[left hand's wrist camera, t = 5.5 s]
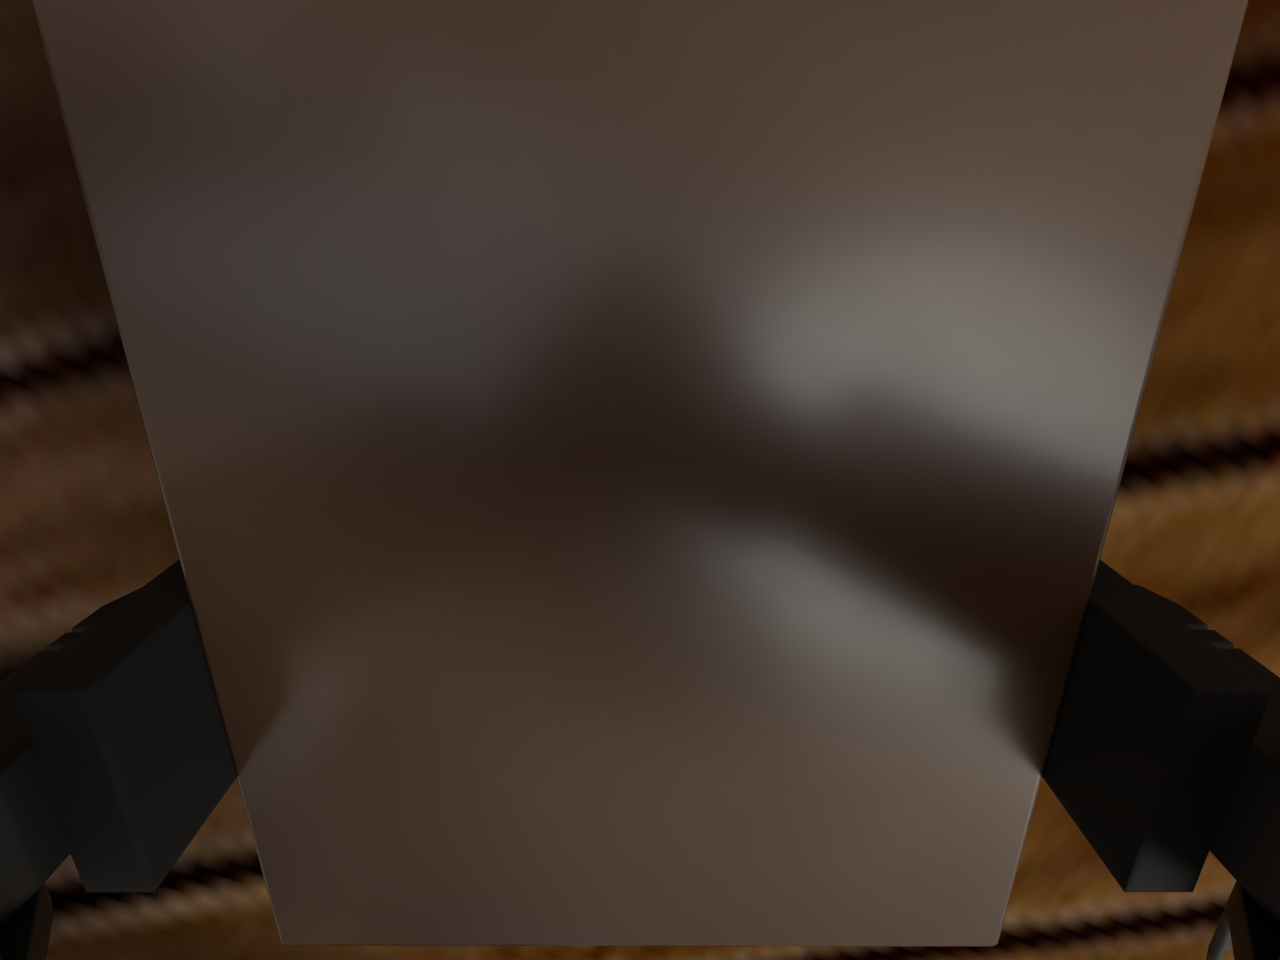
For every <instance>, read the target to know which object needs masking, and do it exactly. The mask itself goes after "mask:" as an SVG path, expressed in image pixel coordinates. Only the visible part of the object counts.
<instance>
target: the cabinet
mask: <svg viewBox="0 0 1280 960" xmlns="http://www.w3.org/2000/svg"><path fill="white" fill-rule="evenodd" d="M32 4H33V8H34V12H35V16H36V19H37V23H38V27H39V31H40V34H41V38H42V42H43V46H44V49H45V53H46V57H47V61H48V65H49V68H50V72H51V76H52V80H53V83H54V87H55V91H56V95H57V99H58V102H59V106H60V110H61V114H62V117H63V121H64V125H65V129H66V133H67V136H68V140H69V144H70V148H71V151H72V155H73V159H74V163H75V167H76V170H77V174H78V178H79V182H80V185H81V189H82V193H83V197H84V201H85V204H86V208H87V212H88V216H89V219H90V223H91V227H92V231H93V235H94V238H95V242H96V246H97V250H98V253H99V257H100V261H101V265H102V269H103V272H104V276H105V280H106V284H107V287H108V291H109V295H110V299H111V302H112V306H113V310H114V314H115V318H116V321H117V325H118V329H119V333H120V336H121V340H122V344H123V348H124V352H125V355H126V359H127V363H128V367H129V370H130V374H131V378H132V382H133V386H134V389H135V393H136V397H137V401H138V404H139V408H140V412H141V416H142V420H143V423H144V427H145V431H146V435H147V438H148V442H149V446H150V450H151V454H152V457H153V461H154V465H155V469H156V472H157V476H158V480H159V484H160V488H161V491H162V495H163V499H164V503H165V506H166V510H167V514H168V518H169V522H170V525H171V529H172V533H173V537H174V540H175V544H176V548H177V552H178V555H179V559H180V563H181V567H182V571H183V574H184V578H185V582H186V586H187V589H188V593H189V597H190V601H191V605H192V608H193V612H194V616H195V620H196V623H197V627H198V631H199V635H200V639H201V642H202V646H203V650H204V654H205V657H206V661H207V665H208V669H209V673H210V676H211V680H212V684H213V688H214V691H215V695H216V699H217V703H218V707H219V710H220V714H221V718H222V722H223V725H224V729H225V733H226V737H227V741H228V744H229V748H230V752H231V756H232V759H233V763H234V767H235V771H236V775H237V778H238V782H239V786H240V790H241V793H242V797H243V801H244V805H245V808H246V812H247V816H248V820H249V824H250V827H251V831H252V835H253V839H254V842H255V846H256V850H257V854H258V858H259V861H260V865H261V869H262V873H263V876H264V880H265V884H266V888H267V892H268V895H269V899H270V903H271V907H272V910H273V914H274V918H275V922H276V926H277V929H278V933H279V937H280V941H281V943H282V944H284V945H417V946H995V945H996V944H997V943H998V940H999V937H1000V933H1001V929H1002V925H1003V921H1004V918H1005V914H1006V910H1007V906H1008V903H1009V899H1010V895H1011V891H1012V888H1013V884H1014V880H1015V876H1016V873H1017V869H1018V865H1019V861H1020V858H1021V854H1022V850H1023V846H1024V843H1025V839H1026V835H1027V831H1028V827H1029V824H1030V820H1031V816H1032V812H1033V809H1034V805H1035V801H1036V797H1037V794H1038V790H1039V786H1040V782H1041V779H1042V775H1043V771H1044V767H1045V764H1046V760H1047V756H1048V752H1049V748H1050V745H1051V741H1052V737H1053V733H1054V730H1055V726H1056V722H1057V718H1058V715H1059V711H1060V707H1061V703H1062V700H1063V696H1064V692H1065V688H1066V685H1067V681H1068V677H1069V673H1070V670H1071V666H1072V662H1073V658H1074V654H1075V651H1076V647H1077V643H1078V639H1079V636H1080V632H1081V628H1082V624H1083V621H1084V617H1085V613H1086V609H1087V606H1088V602H1089V598H1090V594H1091V591H1092V587H1093V583H1094V579H1095V575H1096V572H1097V568H1098V564H1099V560H1100V557H1101V553H1102V549H1103V545H1104V542H1105V538H1106V534H1107V530H1108V527H1109V523H1110V519H1111V515H1112V512H1113V508H1114V504H1115V500H1116V497H1117V493H1118V489H1119V485H1120V481H1121V478H1122V474H1123V470H1124V466H1125V463H1126V459H1127V455H1128V451H1129V448H1130V444H1131V440H1132V436H1133V433H1134V429H1135V425H1136V421H1137V418H1138V414H1139V410H1140V406H1141V402H1142V399H1143V395H1144V391H1145V387H1146V384H1147V380H1148V376H1149V372H1150V369H1151V365H1152V361H1153V357H1154V354H1155V350H1156V346H1157V342H1158V339H1159V335H1160V331H1161V327H1162V324H1163V320H1164V316H1165V312H1166V308H1167V305H1168V301H1169V297H1170V293H1171V290H1172V286H1173V282H1174V278H1175V275H1176V271H1177V267H1178V263H1179V260H1180V256H1181V252H1182V248H1183V245H1184V241H1185V237H1186V233H1187V229H1188V226H1189V222H1190V218H1191V214H1192V211H1193V207H1194V203H1195V199H1196V196H1197V192H1198V188H1199V184H1200V181H1201V177H1202V173H1203V169H1204V166H1205V162H1206V158H1207V154H1208V151H1209V147H1210V143H1211V139H1212V135H1213V132H1214V128H1215V124H1216V120H1217V117H1218V113H1219V109H1220V105H1221V102H1222V98H1223V94H1224V90H1225V87H1226V83H1227V79H1228V75H1229V72H1230V68H1231V64H1232V60H1233V56H1234V53H1235V49H1236V45H1237V41H1238V38H1239V34H1240V30H1241V26H1242V23H1243V19H1244V15H1245V11H1246V8H1247V4H1248V0H32Z"/></svg>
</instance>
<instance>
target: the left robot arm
mask: <svg viewBox="0 0 1280 960" xmlns="http://www.w3.org/2000/svg"><path fill="white" fill-rule="evenodd" d="M236 777H237V775H236V771H235V767H234V763H233V759H232V756H231V752H230V748H229V744H228V741H227V737H226V733H225V729H224V725H223V722H222V718H221V714H220V710H219V707H218V703H217V699H216V695H215V691H214V688H213V684H212V680H211V676H210V673H209V669H208V665H207V661H206V657H205V654H204V650H203V646H202V642H201V639H200V635H199V631H198V627H197V623H196V620H195V616H194V612H193V608H192V605H191V601H190V597H189V593H188V589H187V586H186V582H185V578H184V574H183V571H182V567H181V563H180V559H179V560H178V561H177V562H175V563H174V564H173V565H172V566H170V567H169V568H168V569H166V570H165V571H164V572H162V573H161V574H160V575H158V576H157V577H156V578H154V579H153V580H152V581H150V582H149V583H148V584H146V585H145V586H144V587H142V588H140V589H138V590H136V591H134V592H132V593H129V594H127V595H125V596H123V597H121V598H119V599H117V600H115V601H112V602H110V603H108V604H106V605H104V606H102V607H101V608H99V609H98V610H97V611H95V612H94V613H92V614H91V615H90V616H88V617H87V618H86V619H84V620H83V621H81V622H80V623H79V624H77V625H76V626H75V627H73V628H72V632H71V633H65V634H64V635H62V636H61V637H60V638H58V639H57V640H56V641H54V642H53V643H51V644H50V645H49V646H47V650H46V652H39V653H38V654H36V655H35V656H34V657H32V658H31V659H30V660H28V661H27V662H25V663H24V664H23V665H21V666H20V667H19V668H17V669H16V670H15V671H13V672H12V673H10V674H9V675H8V676H6V677H5V678H4V679H2V680H1V681H0V960H46V956H47V950H48V943H49V937H50V931H51V925H52V919H53V908H52V902H51V897H50V895H49V893H48V890H47V888H46V886H45V883H44V882H45V881H46V880H47V879H48V878H49V877H50V876H51V875H52V873H53V872H54V871H55V870H56V869H57V868H58V867H59V866H60V864H61V863H62V862H63V861H64V860H65V859H66V858H67V857H68V855H69V854H70V853H71V855H72V858H73V860H74V863H75V865H76V868H77V870H78V873H79V875H80V878H81V880H82V883H83V885H84V888H85V890H86V892H155V891H156V889H157V888H158V886H159V885H160V884H161V882H162V881H163V879H164V878H165V877H166V875H167V874H168V872H169V871H170V870H171V868H172V867H173V865H174V864H175V863H176V861H177V860H178V858H179V857H180V856H181V854H182V853H183V851H184V850H185V849H186V847H187V846H188V844H189V843H190V842H191V840H192V839H193V837H194V836H195V835H196V833H197V832H198V830H199V829H200V828H201V826H202V825H203V823H204V822H205V821H206V819H207V818H208V816H209V815H210V814H211V812H212V811H213V809H214V808H215V807H216V805H217V804H218V802H219V801H220V800H221V798H222V797H223V795H224V794H225V793H226V791H227V790H228V788H229V787H230V786H231V784H232V783H233V781H234V780H235V779H236ZM1042 777H1043V778H1044V780H1045V781H1046V783H1047V784H1048V785H1049V787H1050V788H1051V790H1052V791H1053V792H1054V794H1055V795H1056V797H1057V798H1058V799H1059V801H1060V802H1061V804H1062V805H1063V806H1064V808H1065V809H1066V811H1067V812H1068V813H1069V815H1070V816H1071V818H1072V819H1073V820H1074V822H1075V823H1076V825H1077V826H1078V827H1079V829H1080V830H1081V832H1082V833H1083V834H1084V836H1085V837H1086V839H1087V840H1088V841H1089V843H1090V844H1091V846H1092V847H1093V848H1094V850H1095V851H1096V853H1097V854H1098V855H1099V857H1100V858H1101V860H1102V861H1103V862H1104V864H1105V865H1106V867H1107V868H1108V869H1109V871H1110V872H1111V874H1112V875H1113V876H1114V878H1115V879H1116V881H1117V882H1118V883H1119V885H1120V886H1121V888H1122V889H1123V890H1124V892H1193V890H1194V888H1195V885H1196V883H1197V880H1198V877H1199V875H1200V872H1201V870H1202V867H1203V865H1204V862H1205V860H1206V857H1207V855H1208V852H1209V850H1210V851H1211V852H1212V853H1213V855H1214V856H1215V857H1216V858H1217V859H1218V860H1219V861H1220V862H1221V863H1222V865H1223V866H1224V867H1225V868H1226V869H1227V870H1228V871H1229V872H1230V874H1231V875H1232V876H1233V877H1234V878H1235V879H1236V880H1237V881H1236V883H1235V886H1234V888H1233V890H1232V893H1231V895H1230V897H1229V900H1228V902H1227V904H1226V907H1225V909H1224V911H1223V914H1222V916H1221V918H1220V921H1219V923H1218V925H1217V928H1216V930H1215V933H1214V935H1213V937H1212V940H1211V942H1210V944H1209V948H1208V953H1207V958H1206V960H1222V958H1223V956H1224V953H1225V951H1226V950H1229V949H1231V948H1233V953H1234V959H1235V960H1280V678H1279V677H1278V676H1277V675H1275V674H1274V673H1272V672H1271V671H1270V670H1268V669H1267V668H1266V667H1264V666H1263V665H1261V664H1260V663H1259V662H1257V661H1256V660H1255V659H1253V658H1252V657H1250V656H1249V655H1248V654H1246V653H1245V652H1244V651H1242V650H1241V649H1234V648H1233V643H1231V642H1230V641H1228V640H1227V639H1226V638H1224V637H1223V636H1222V635H1220V634H1219V633H1217V632H1216V631H1215V630H1208V625H1206V624H1205V623H1204V622H1202V621H1201V620H1199V619H1198V618H1197V617H1195V616H1194V615H1193V614H1191V613H1190V612H1188V611H1187V610H1186V609H1184V608H1183V607H1182V606H1180V605H1179V604H1177V603H1175V602H1173V601H1171V600H1169V599H1167V598H1165V597H1162V596H1160V595H1158V594H1156V593H1154V592H1152V591H1150V590H1147V589H1145V588H1143V587H1141V586H1139V585H1133V584H1132V583H1130V582H1129V581H1128V580H1126V579H1125V578H1124V577H1122V576H1121V575H1120V574H1118V573H1117V572H1116V571H1114V570H1113V569H1112V568H1110V567H1109V566H1108V565H1106V564H1105V563H1104V562H1102V561H1101V560H1099V564H1098V568H1097V572H1096V575H1095V579H1094V583H1093V587H1092V591H1091V594H1090V598H1089V602H1088V606H1087V609H1086V613H1085V617H1084V621H1083V624H1082V628H1081V632H1080V636H1079V639H1078V643H1077V647H1076V651H1075V654H1074V658H1073V662H1072V666H1071V670H1070V673H1069V677H1068V681H1067V685H1066V688H1065V692H1064V696H1063V700H1062V703H1061V707H1060V711H1059V715H1058V718H1057V722H1056V726H1055V730H1054V733H1053V737H1052V741H1051V745H1050V748H1049V752H1048V756H1047V760H1046V764H1045V767H1044V771H1043V775H1042Z"/></svg>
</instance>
